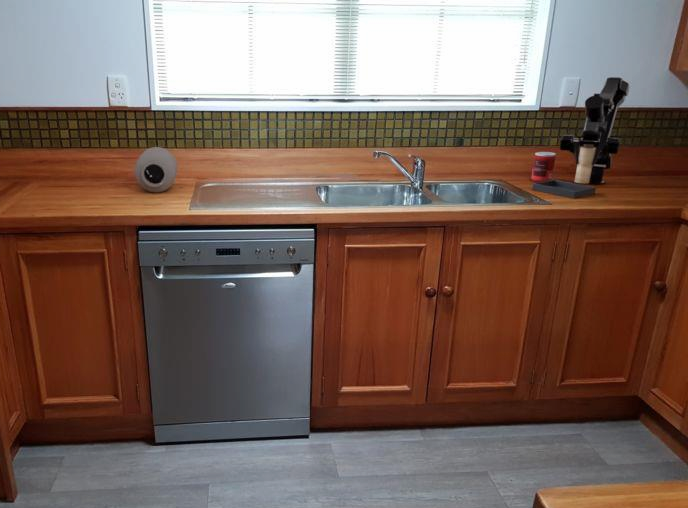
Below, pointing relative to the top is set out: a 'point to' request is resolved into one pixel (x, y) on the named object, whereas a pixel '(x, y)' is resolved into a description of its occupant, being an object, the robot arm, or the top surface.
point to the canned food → (543, 166)
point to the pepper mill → (585, 163)
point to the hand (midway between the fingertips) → (584, 164)
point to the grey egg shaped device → (155, 169)
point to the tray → (564, 188)
